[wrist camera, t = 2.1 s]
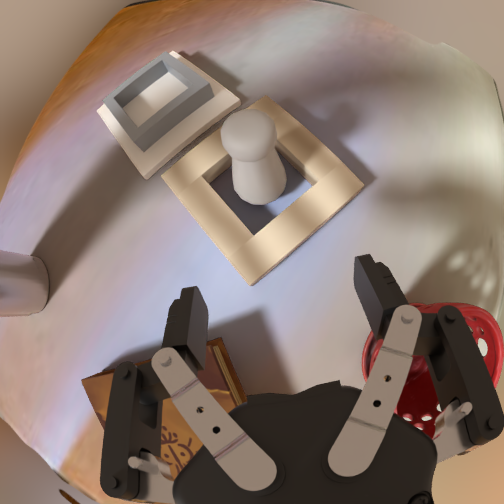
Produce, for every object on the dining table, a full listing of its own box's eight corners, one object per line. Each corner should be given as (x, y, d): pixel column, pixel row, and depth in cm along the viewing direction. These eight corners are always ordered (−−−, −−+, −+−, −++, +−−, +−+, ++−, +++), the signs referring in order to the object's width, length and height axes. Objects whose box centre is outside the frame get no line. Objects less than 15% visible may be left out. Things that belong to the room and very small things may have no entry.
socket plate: (147, 180, 33) (131, 167, 29) (100, 114, 36) (87, 101, 32) (241, 104, 33) (236, 85, 29) (175, 55, 36) (167, 38, 32)
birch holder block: (252, 285, 30) (249, 285, 27) (170, 184, 33) (160, 175, 30) (357, 194, 30) (364, 185, 27) (267, 108, 33) (265, 95, 30)
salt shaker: (259, 155, 32) (245, 85, 19) (296, 183, 31) (303, 120, 18) (226, 190, 32) (192, 133, 19) (263, 220, 31) (249, 175, 18)
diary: (102, 371, 31) (77, 380, 26) (222, 336, 30) (209, 346, 25) (171, 497, 28) (157, 517, 22) (288, 482, 27) (288, 508, 21)
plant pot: (330, 347, 28) (358, 382, 16) (417, 277, 28) (478, 270, 16) (382, 423, 26) (418, 473, 14) (459, 356, 26) (517, 377, 14)
